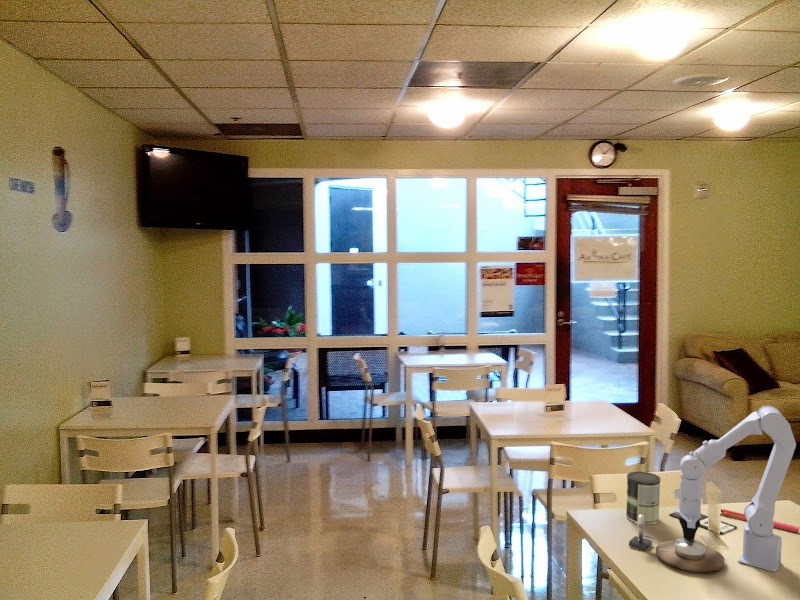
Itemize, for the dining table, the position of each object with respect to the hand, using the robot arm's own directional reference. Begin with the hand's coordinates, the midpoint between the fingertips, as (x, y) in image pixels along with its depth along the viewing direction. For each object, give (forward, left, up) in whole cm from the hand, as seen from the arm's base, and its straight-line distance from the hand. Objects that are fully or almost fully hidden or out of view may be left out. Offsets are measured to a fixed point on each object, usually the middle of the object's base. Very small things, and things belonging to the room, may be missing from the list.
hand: (688, 542), depth 197 cm
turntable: (-2, +5, -3) cm, 6 cm away
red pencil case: (-11, -37, -3) cm, 38 cm away
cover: (-2, +5, -1) cm, 6 cm away
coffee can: (+19, -16, -3) cm, 25 cm away
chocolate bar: (+3, -26, -3) cm, 26 cm away
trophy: (+12, +5, -3) cm, 13 cm away
